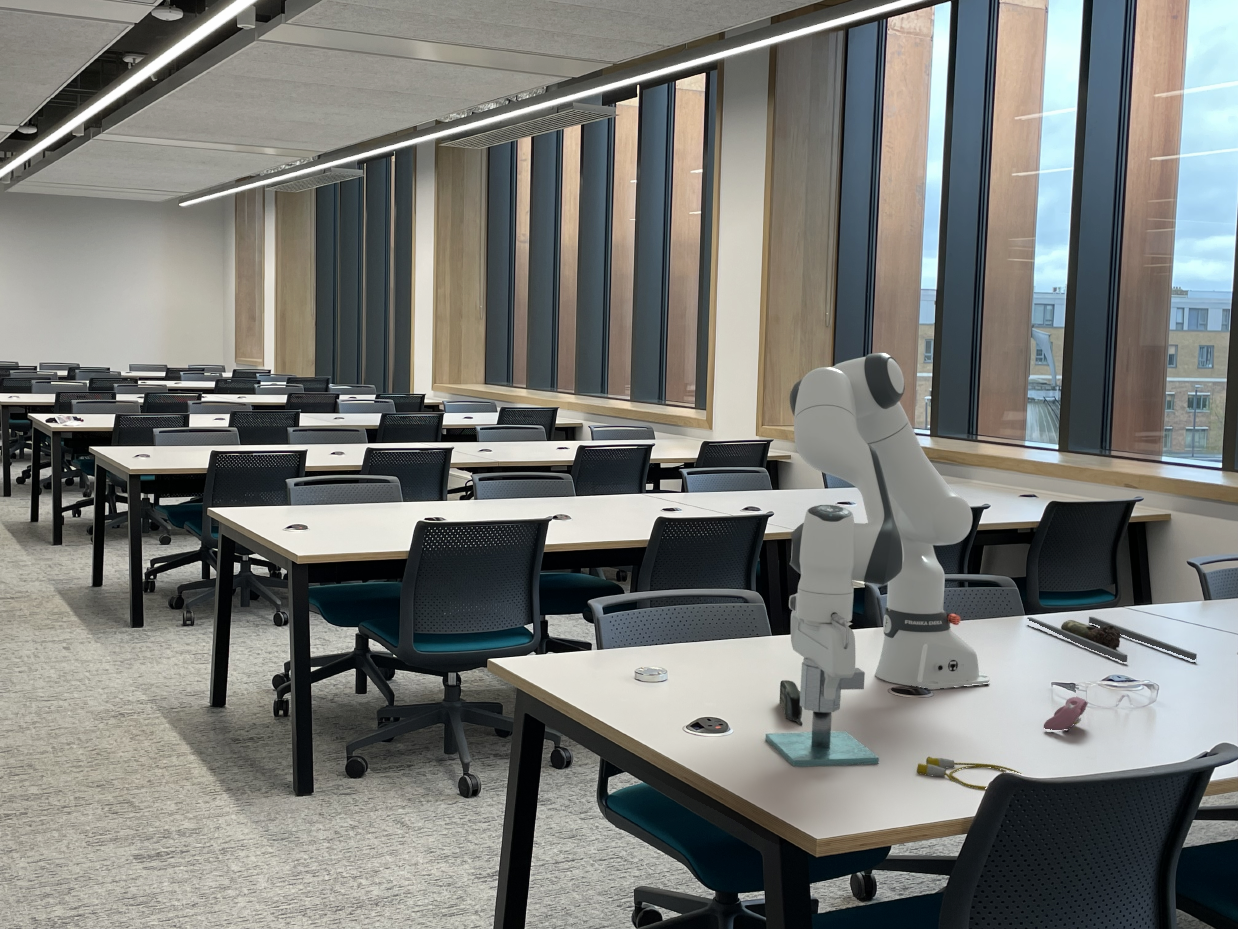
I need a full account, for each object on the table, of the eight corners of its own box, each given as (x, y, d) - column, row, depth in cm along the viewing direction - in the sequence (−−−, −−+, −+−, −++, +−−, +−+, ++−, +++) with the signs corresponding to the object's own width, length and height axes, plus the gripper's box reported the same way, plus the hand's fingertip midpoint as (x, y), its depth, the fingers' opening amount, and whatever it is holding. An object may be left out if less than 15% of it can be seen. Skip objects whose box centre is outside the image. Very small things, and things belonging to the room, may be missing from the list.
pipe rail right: (1092, 624, 312) (1092, 616, 311) (1196, 662, 273) (1196, 654, 272) (1088, 624, 311) (1089, 616, 311) (1192, 663, 272) (1192, 654, 272)
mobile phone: (777, 678, 229) (790, 697, 214) (794, 678, 229) (807, 698, 214) (776, 704, 229) (789, 726, 214) (793, 704, 229) (806, 726, 214)
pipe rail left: (1030, 625, 308) (1031, 617, 308) (1126, 664, 269) (1127, 655, 269) (1026, 625, 308) (1027, 617, 308) (1122, 664, 269) (1123, 655, 269)
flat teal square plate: (844, 737, 209) (846, 699, 208) (878, 763, 195) (880, 723, 194) (765, 739, 206) (767, 701, 205) (793, 766, 192) (795, 725, 192)
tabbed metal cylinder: (852, 701, 204) (855, 656, 204) (866, 711, 198) (869, 664, 198) (795, 702, 202) (798, 656, 202) (808, 712, 196) (810, 665, 196)
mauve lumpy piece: (1063, 745, 214) (1085, 712, 211) (1040, 729, 216) (1061, 697, 213) (1075, 731, 222) (1096, 700, 220) (1052, 716, 224) (1072, 685, 222)
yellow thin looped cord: (949, 758, 200) (949, 746, 200) (1040, 784, 189) (1041, 771, 189) (907, 774, 192) (908, 761, 192) (1001, 802, 181) (1002, 788, 181)
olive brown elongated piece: (1059, 638, 295) (1060, 614, 295) (1084, 637, 297) (1085, 614, 297) (1104, 655, 278) (1106, 630, 278) (1130, 654, 280) (1132, 630, 280)
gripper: (868, 620, 189) (863, 709, 190) (821, 595, 209) (816, 676, 210) (829, 620, 188) (824, 710, 189) (785, 595, 208) (781, 676, 209)
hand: (820, 692), depth 200 cm, fingers closed on tabbed metal cylinder, 6 cm apart
